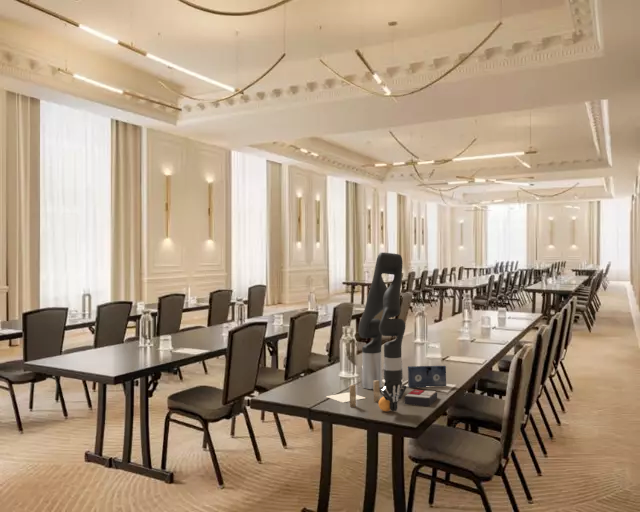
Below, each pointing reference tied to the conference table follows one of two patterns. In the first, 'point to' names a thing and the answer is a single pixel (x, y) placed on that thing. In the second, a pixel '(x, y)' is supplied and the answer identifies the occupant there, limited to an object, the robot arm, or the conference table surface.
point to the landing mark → (344, 397)
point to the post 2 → (376, 391)
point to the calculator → (421, 397)
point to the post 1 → (352, 395)
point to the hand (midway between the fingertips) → (393, 410)
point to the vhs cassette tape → (426, 376)
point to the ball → (384, 404)
